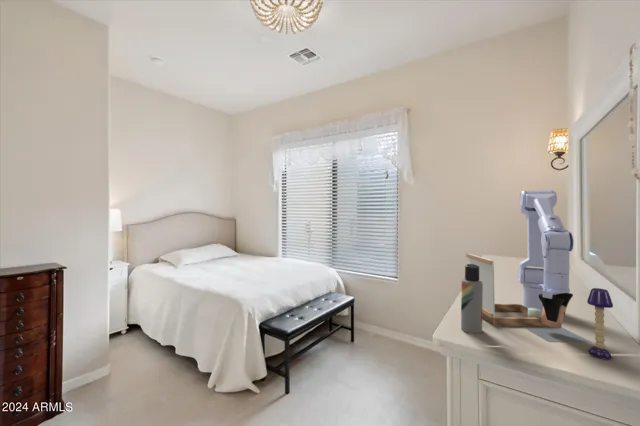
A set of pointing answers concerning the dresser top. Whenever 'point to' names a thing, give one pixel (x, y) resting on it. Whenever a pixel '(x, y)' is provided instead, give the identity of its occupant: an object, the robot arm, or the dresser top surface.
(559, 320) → the terracotta pot
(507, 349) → the dresser top surface
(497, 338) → the dresser top surface
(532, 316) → the pale green egg
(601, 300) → the toy lamp
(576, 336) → the mat
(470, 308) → the lotion bottle
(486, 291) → the lid
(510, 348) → the dresser top surface
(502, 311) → the wooden tray
